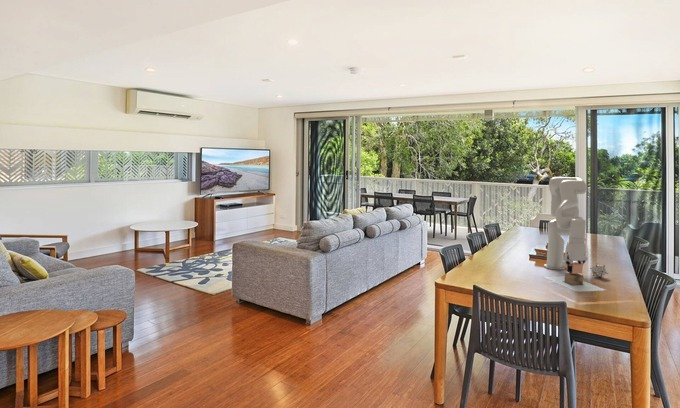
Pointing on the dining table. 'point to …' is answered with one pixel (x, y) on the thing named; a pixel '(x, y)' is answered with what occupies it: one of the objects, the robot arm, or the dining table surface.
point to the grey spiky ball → (599, 270)
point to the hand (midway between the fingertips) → (574, 271)
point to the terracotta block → (576, 267)
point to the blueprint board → (577, 288)
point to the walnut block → (573, 278)
